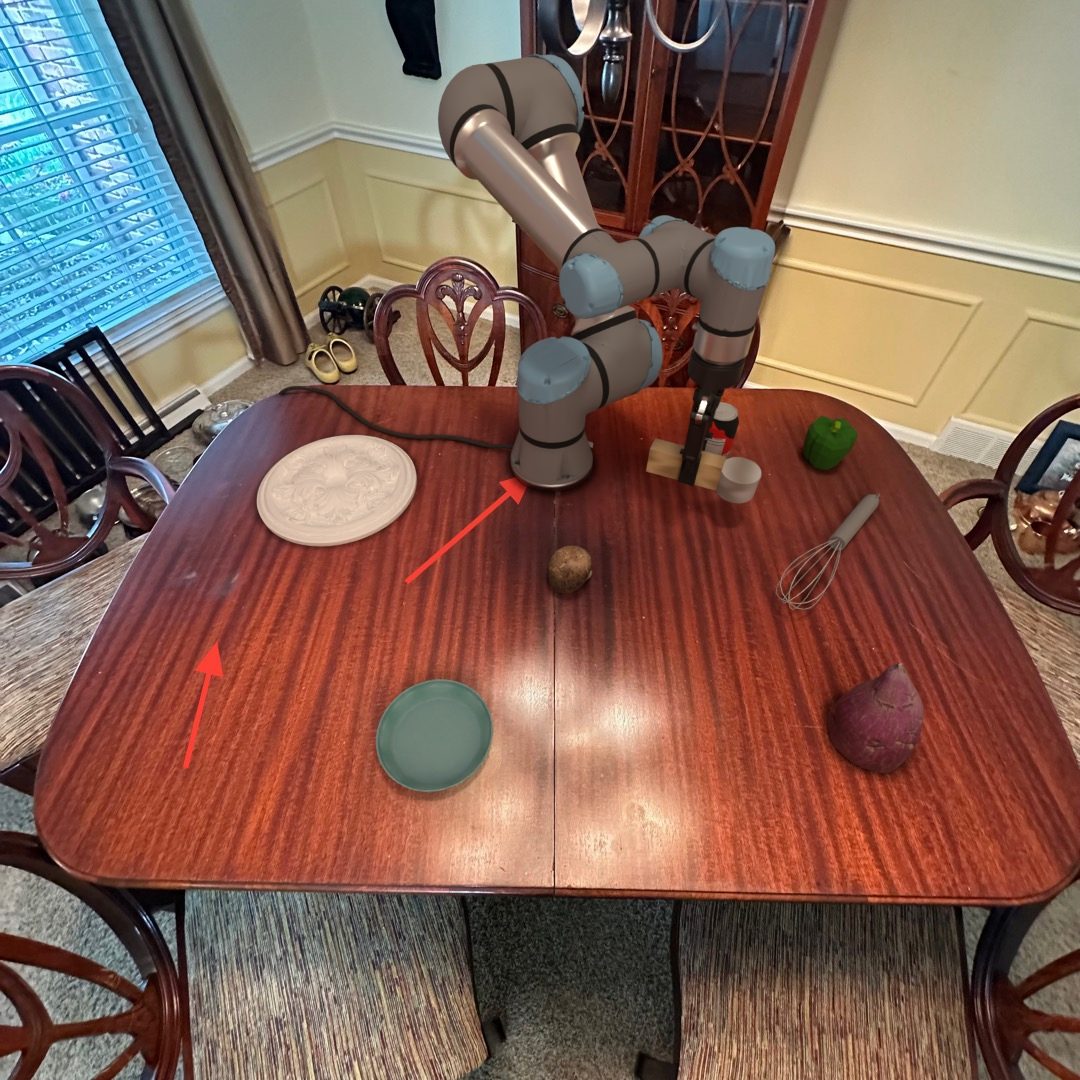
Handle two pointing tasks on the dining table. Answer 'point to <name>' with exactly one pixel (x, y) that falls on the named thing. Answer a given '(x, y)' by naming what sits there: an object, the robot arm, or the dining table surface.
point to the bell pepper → (828, 442)
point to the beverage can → (723, 430)
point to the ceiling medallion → (336, 490)
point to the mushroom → (569, 568)
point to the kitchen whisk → (838, 541)
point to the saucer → (434, 735)
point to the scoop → (708, 471)
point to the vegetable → (878, 721)
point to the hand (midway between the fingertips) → (688, 475)
